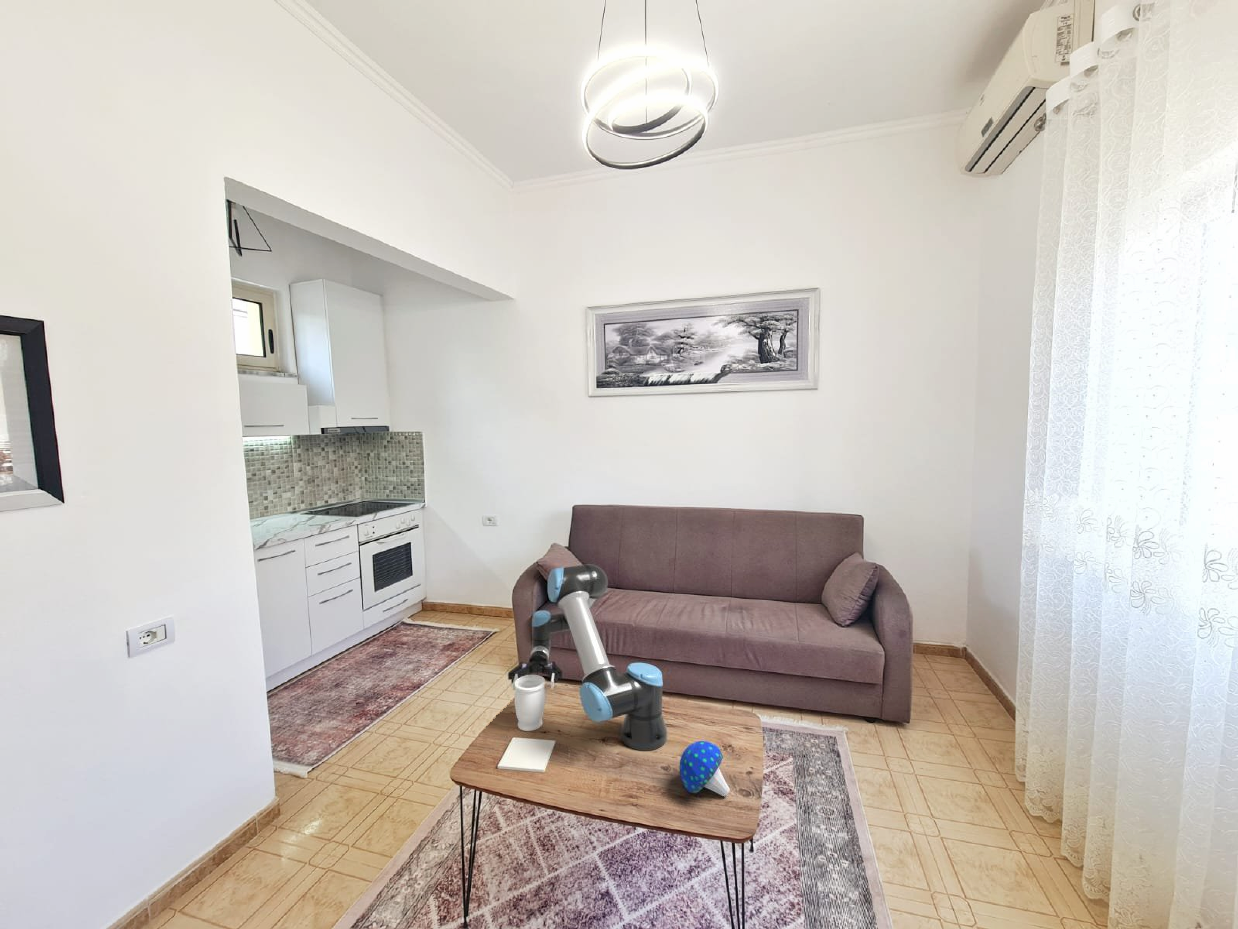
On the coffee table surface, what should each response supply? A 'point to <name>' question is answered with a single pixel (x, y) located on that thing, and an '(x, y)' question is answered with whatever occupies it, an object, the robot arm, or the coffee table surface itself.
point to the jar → (530, 701)
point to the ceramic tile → (527, 755)
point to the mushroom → (702, 768)
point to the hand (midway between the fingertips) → (533, 685)
